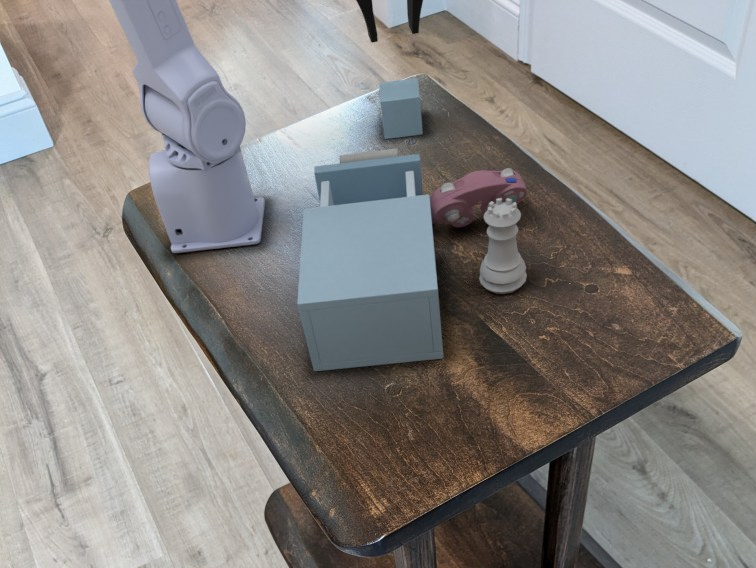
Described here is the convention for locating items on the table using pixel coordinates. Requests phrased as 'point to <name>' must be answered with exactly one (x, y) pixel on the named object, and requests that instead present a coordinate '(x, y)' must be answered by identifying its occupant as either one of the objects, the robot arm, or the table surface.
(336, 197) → the freezer drawer
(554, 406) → the table surface
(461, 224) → the pink toy car
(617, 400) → the table surface
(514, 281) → the rook chess piece
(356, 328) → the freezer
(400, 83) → the ice block
